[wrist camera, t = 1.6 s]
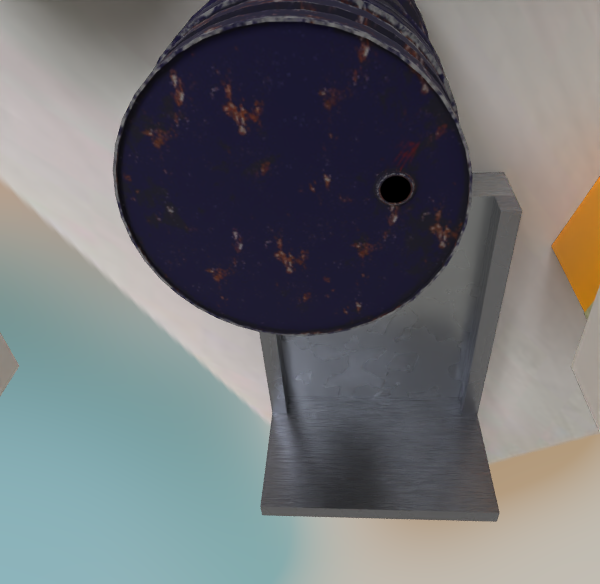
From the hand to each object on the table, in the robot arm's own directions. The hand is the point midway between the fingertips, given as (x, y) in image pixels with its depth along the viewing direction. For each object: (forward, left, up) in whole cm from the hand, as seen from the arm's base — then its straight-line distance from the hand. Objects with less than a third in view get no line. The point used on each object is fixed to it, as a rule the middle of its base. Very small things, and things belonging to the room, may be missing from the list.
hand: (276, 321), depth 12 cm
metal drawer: (+15, +3, -19) cm, 25 cm away
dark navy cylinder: (0, 0, -19) cm, 19 cm away
